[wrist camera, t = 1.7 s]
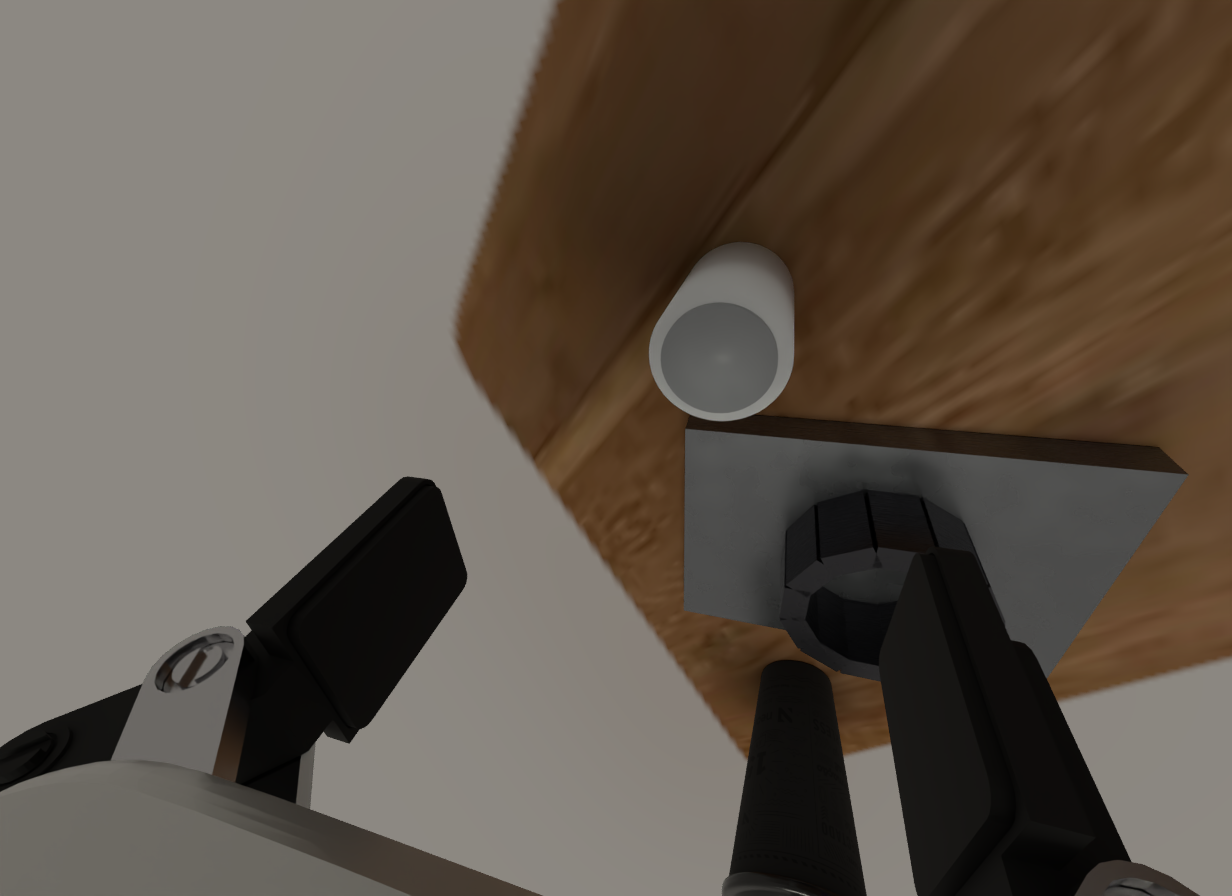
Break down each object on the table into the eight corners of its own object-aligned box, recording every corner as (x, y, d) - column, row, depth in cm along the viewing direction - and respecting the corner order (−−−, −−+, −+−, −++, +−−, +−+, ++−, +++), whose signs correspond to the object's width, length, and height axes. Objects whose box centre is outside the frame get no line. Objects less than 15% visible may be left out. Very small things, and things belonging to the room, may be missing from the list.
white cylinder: (683, 242, 22) (644, 288, 16) (801, 240, 21) (803, 290, 15) (682, 347, 25) (649, 419, 19) (787, 352, 24) (784, 431, 18)
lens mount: (691, 410, 27) (669, 474, 22) (1159, 447, 21) (1264, 544, 16) (689, 587, 34) (672, 663, 30) (1031, 649, 29) (1078, 755, 24)
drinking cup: (873, 673, 34) (944, 1173, 18) (824, 723, 38) (845, 1157, 22) (764, 632, 35) (738, 1072, 19) (729, 686, 39) (684, 1076, 23)
